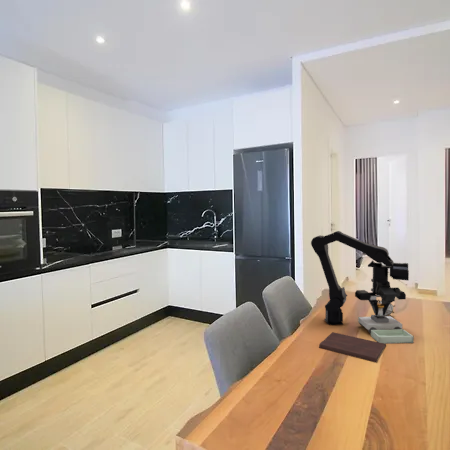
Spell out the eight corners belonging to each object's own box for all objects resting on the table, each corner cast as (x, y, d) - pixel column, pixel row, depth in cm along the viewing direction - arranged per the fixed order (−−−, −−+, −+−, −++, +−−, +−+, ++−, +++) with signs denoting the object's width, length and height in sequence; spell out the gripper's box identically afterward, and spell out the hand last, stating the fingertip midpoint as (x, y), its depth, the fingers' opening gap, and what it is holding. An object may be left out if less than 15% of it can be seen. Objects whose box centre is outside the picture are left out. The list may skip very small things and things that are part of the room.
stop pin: (377, 322, 134) (377, 305, 133) (373, 319, 137) (373, 303, 136) (385, 321, 134) (386, 305, 133) (381, 318, 137) (381, 303, 136)
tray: (379, 343, 122) (379, 337, 122) (370, 336, 129) (370, 329, 129) (413, 342, 123) (413, 336, 122) (403, 335, 130) (403, 329, 129)
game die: (389, 325, 150) (402, 311, 144) (371, 318, 150) (384, 305, 144) (385, 310, 157) (397, 297, 152) (368, 304, 157) (380, 290, 152)
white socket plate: (368, 334, 131) (368, 321, 130) (358, 325, 140) (358, 313, 140) (402, 333, 131) (402, 320, 130) (390, 325, 140) (390, 312, 140)
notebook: (332, 335, 132) (332, 330, 132) (385, 347, 120) (385, 342, 120) (319, 349, 120) (319, 343, 120) (376, 364, 108) (376, 358, 108)
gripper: (366, 283, 126) (366, 322, 127) (414, 282, 126) (413, 321, 127) (354, 276, 137) (354, 313, 138) (398, 275, 137) (397, 311, 138)
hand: (379, 314), depth 135 cm, fingers closed on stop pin, 3 cm apart
